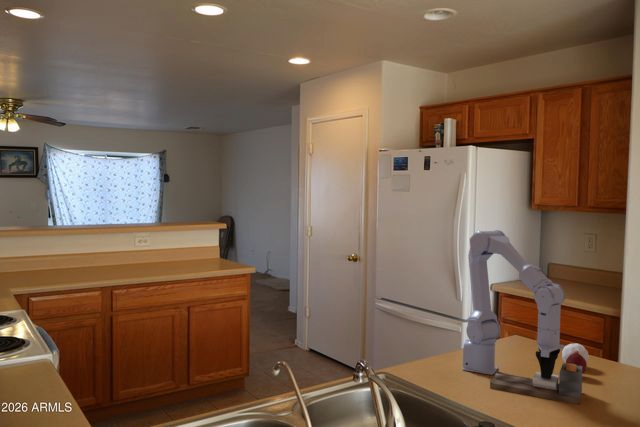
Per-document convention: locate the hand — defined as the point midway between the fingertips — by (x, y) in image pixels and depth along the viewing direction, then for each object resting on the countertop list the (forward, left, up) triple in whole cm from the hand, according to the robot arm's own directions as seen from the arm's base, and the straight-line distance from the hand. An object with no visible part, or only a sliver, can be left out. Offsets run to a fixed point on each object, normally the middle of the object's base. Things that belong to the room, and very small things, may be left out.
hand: (547, 376), depth 150 cm
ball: (+5, +29, -5) cm, 30 cm away
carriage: (0, 0, -3) cm, 3 cm away
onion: (+6, +19, -5) cm, 20 cm away
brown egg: (+6, 0, 0) cm, 6 cm away
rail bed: (-3, 0, -5) cm, 5 cm away
